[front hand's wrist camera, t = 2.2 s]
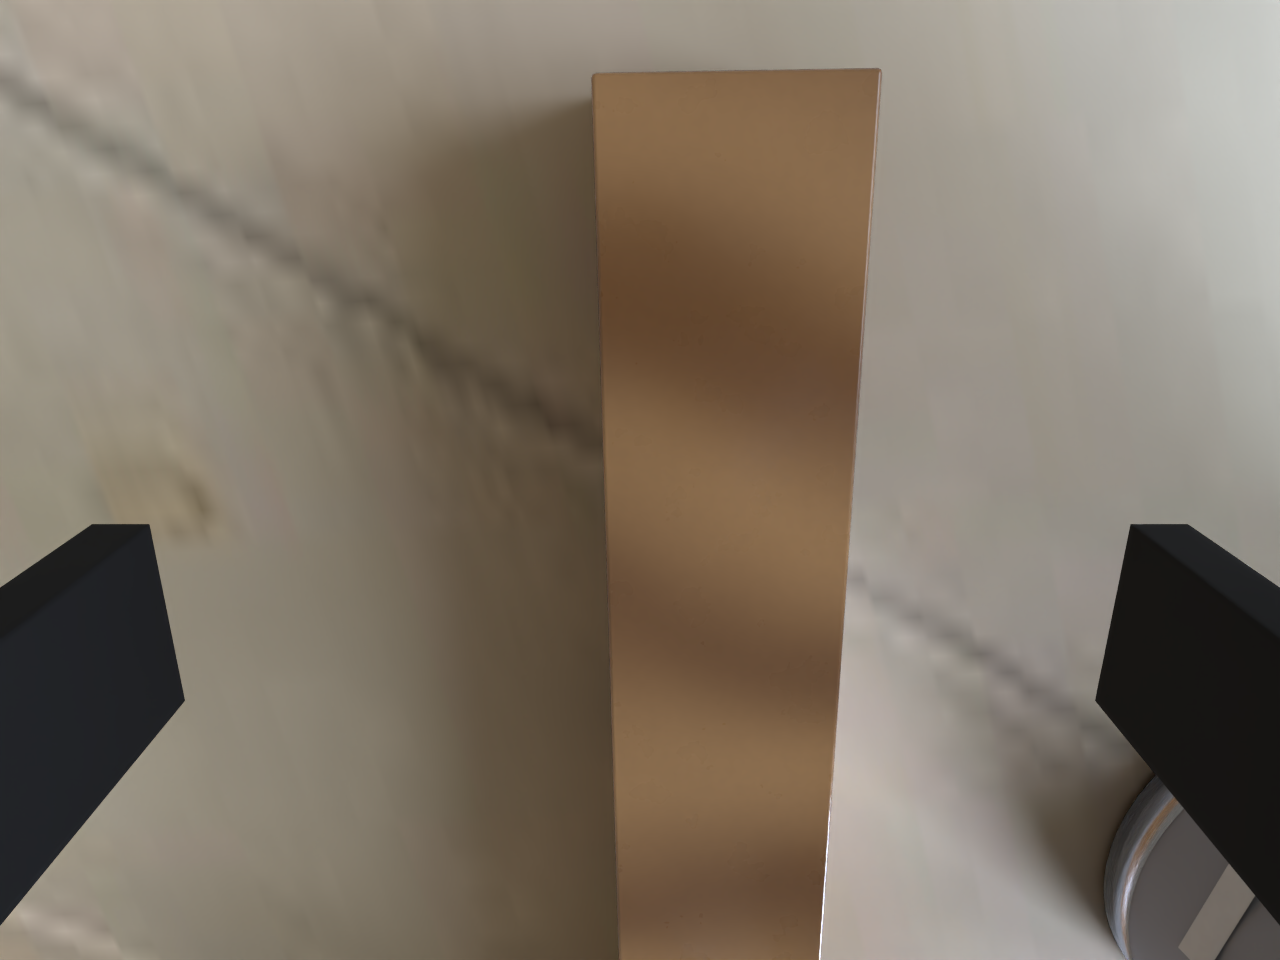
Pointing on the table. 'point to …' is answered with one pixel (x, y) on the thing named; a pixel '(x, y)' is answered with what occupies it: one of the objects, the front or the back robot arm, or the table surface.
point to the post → (728, 488)
